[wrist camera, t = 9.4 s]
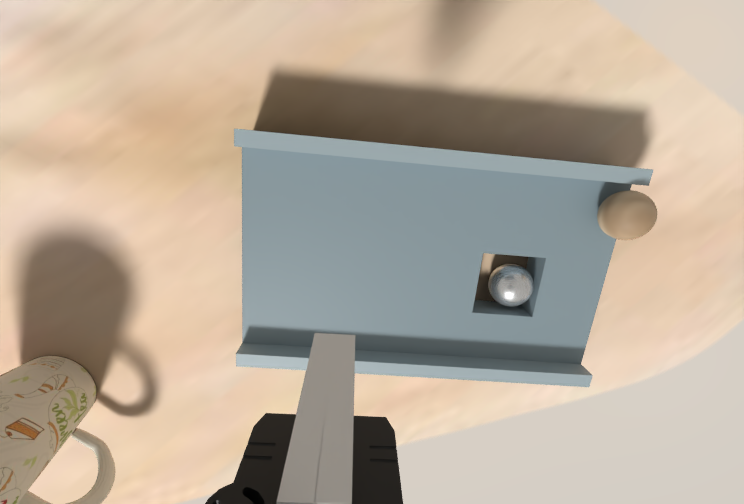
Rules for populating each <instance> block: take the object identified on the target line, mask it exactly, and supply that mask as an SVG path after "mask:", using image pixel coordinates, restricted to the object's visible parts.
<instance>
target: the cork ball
mask: <svg viewBox="0 0 744 504" xmlns="http://www.w3.org/2000/svg"><path fill="white" fill-rule="evenodd" d="M656 219H657V209H656V206H655V204H654V202H653V201H652V200H651V199H650V198H649V197H648V196H647V195H645V194H643V193H640V192H637V191H620V192H617V193H614V194H612V195H611V196H609V197H608V198H606V199H605V200H604V201H603V202H602V204H601V205H600V207H599V209H598V213H597V220H598V224H599V226H600V228H601V229H602V230H603V232H604V233H606V234H607V235H608V236H610V237H612V238H615V239H619V240H632V239H636V238H639V237H641V236H643V235H645V234H646V233H648V232H649V231H650V230H651V229H652V227H653V226H654V224H655V222H656Z"/></svg>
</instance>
